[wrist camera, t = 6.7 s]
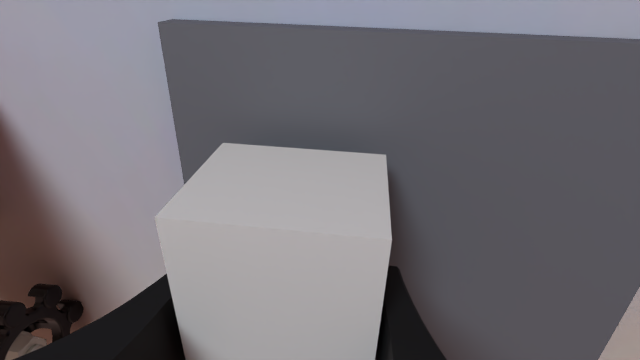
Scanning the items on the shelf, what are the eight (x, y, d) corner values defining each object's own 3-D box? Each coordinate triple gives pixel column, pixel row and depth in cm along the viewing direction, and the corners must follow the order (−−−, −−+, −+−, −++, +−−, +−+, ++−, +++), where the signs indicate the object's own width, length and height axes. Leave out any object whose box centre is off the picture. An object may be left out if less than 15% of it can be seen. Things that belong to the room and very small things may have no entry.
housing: (222, 142, 13) (154, 217, 9) (385, 154, 12) (391, 240, 8) (242, 329, 17) (202, 436, 13) (363, 344, 16) (360, 460, 12)
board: (744, 43, 11) (880, 68, 8) (553, 403, 20) (585, 481, 17) (172, 19, 13) (110, 31, 10) (222, 359, 22) (197, 421, 19)
